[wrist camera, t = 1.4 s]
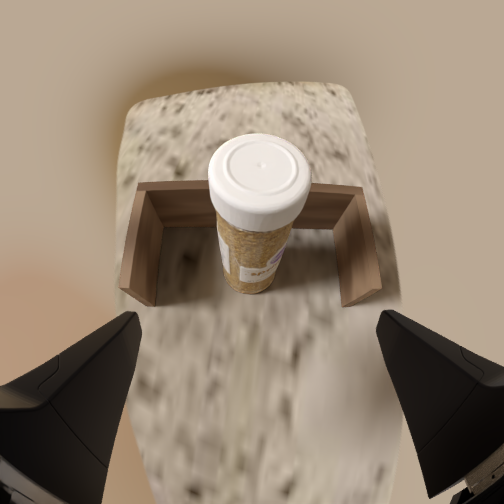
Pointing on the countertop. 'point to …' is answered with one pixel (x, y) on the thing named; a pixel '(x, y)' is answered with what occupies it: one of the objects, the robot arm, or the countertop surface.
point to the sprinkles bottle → (256, 205)
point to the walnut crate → (204, 215)
